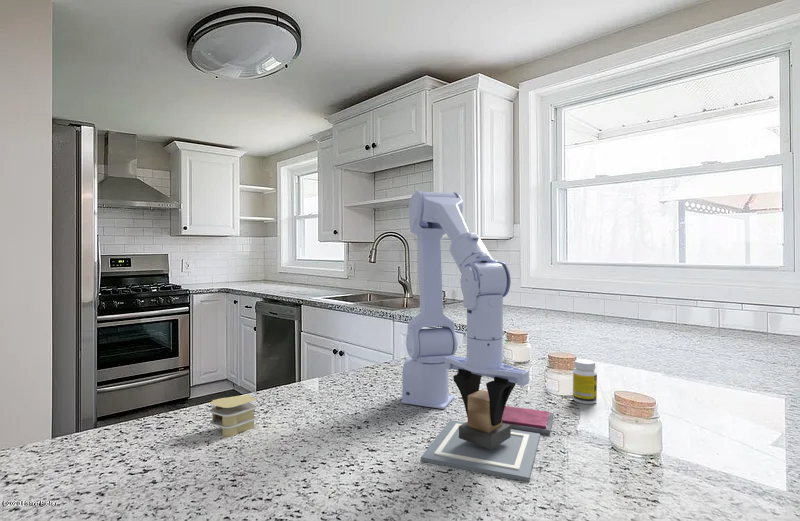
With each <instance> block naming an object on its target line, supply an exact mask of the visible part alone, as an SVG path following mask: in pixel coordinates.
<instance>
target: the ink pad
mask: <svg viewBox="0 0 800 521" xmlns="http://www.w3.org/2000/svg"><path fill="white" fill-rule="evenodd" d="M502 423H505V424H508V425H511V429H513V430H519V431H526V432H532V433H539V434H540V435H547V436H550V435H551V431H552V427H553V426H552V425H553V423H554V412H550V411H546V410H540V409H532V408H523V407H517V406H508V405H505V408H504V412H503V416H502Z"/></svg>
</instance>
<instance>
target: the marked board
mask: <svg viewBox="0 0 800 521" xmlns="http://www.w3.org/2000/svg"><path fill="white" fill-rule="evenodd" d="M466 422H467V421H466ZM466 422H465V421H458V420H452V419H449V421H448V422H447V423H446V425H445V426H444V427H443V428H442V430H441V431H440V432H439V433H438V434H437V436H436V437H435V438H434V440H432V442H431V443H430V445H429V446H428V448H427V449H426V450H425V451H424V453H423V454H422V455H421V457H420V461H421V462H423V463H424V462H425V463H430V464H435V465H439V466H443V467H444V466H445V467H450V468H451V467H452V468H454V469H455V468H456V469H461V470H465V471H471V472H476V473H482V474H487V475H491V476H492V475H493V476H495V477H502V478H505V479H506V478H507V479H512V480H518V481H523V482H527V483H529V482H530V479H531V475H532V473H533V467H534V463H535V459H536V455H537V452H538V447H539V443H540V441H541V440H540V439H541V434H539V433H532V432H526V431H519V430H513V429H511V437H510V438H509V439H507V440H506V441H504V442H502V443H501V444H499V445H498V446H496V447H494V448H493V449H488V448H485V447H483V446H480V445H477V444H474V443H471V442H468V441H465V440H463V439H460V438H459V426H460V425H462V424H464V423H466Z"/></svg>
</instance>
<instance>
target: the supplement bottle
mask: <svg viewBox="0 0 800 521" xmlns="http://www.w3.org/2000/svg"><path fill="white" fill-rule="evenodd" d="M574 367H575V368H574V369H573V370H572V400H573V401H574V402H577V403H580V404H586V405H592V404H596V403H597V400H598V398H597V397H598V394H597V391H598V386H597V385H598V374H597V371H596V361H594V360H592V359H591V360H590V359H584V358H583V359H575V361H574Z"/></svg>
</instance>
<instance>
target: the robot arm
mask: <svg viewBox="0 0 800 521" xmlns="http://www.w3.org/2000/svg"><path fill="white" fill-rule="evenodd" d="M463 209H464V201H463V199H462V197H461V195H460V194H459V192H456V191H454V192H436V191H435V192H434V191H433V192H431V191H420V190H415V191H414V192H413V194H412V195H411V197H410V201H409V204H408V214H409V215H408V216H409V217H408V218H409V219H408V220H409V221H408V222H409V231H410V232H411V233H412V234H414V235H415V236H416V239H417V241H416V242H417V261H418V266H417V267H418V291H419V293H418V294H419V313H418V314H417V315H415V317H413V318H412V319H411V320H409V322H408V323H407V332H406V340H405V343H406V351H407V354H408V356H409V357H407V358H406V359H405V360H404V363H403V367H402V375H401V377H402V381H401V382H402V383H401V384H402V385H401V386H402V388H401V390H402V395H401V397H402V398H401V401H400V403H402V404H406V405H413V406H421V407H425V408H426V407H427V408H435V409H439V410H440V409H443V410H444V409H446V408H447V407H448V405H449V404H450V403H451V402H452V401H453V400H454V398H455V395H454V394H449V390H450V389H449V386H450V384H449V376H450V375H449V372H450V371H449V370H456V371H457V373H456V374H454V375H453V376H452V377H453V382H454V384H455V385H456V387H457V389H458V390H459V393H460V396H461V398H462V402H463V405H464V409H465V413H466V417H467V419H468V395H470V394H472V393H475V392H477V391H479V390H480V387H481V386H480V385H481V380H482V376H483V377H487V378H490V379H493V380H490V381H488V382H486V384H485V387H486V389H487V390H486V391H488V395H489V400H490V418H491V425H492V426H496V425H498V424H500V423H501V420H502V416H503V412H504V408H505V406H507V405H506V404H507V402H508V400H509V398H510V395H511V393H512V392H513V389H514V388H515V386H516V385H517V386H520V387H524V386H526V385H528V384H529V383H530V375H529V374H530V371H529V370H525V369H522V368H519V367H515V366H513V365H509V364H506V363H504V362H503V356H504V355H503V354H504V352H503V349H504V348H503V346H504V343H503V340H504V339H503V338H504V337H503V336H504V333H503V332H504V330H503V329H504V324H503V323H504V321H503V320H504V319H503V318H504V298H505V297H506V296H507V295H508V294H509V292H510V290H511V282H512V281H511V279H512V278H511V273H510V269H509V268H508V266H507V263H506V262H504V261H500V260H498V259H497V258H493V257H492V255H491V254H490V252H489V251H488V249H487V247H486V245H485V244H484V242H483V241H482V239H481V237H480V235H478V234H477V233H475V232H470V230H469V228H468V225H467V224H466V221H465V218H464V216H463V212H464V210H463ZM444 235H447V237H448V238H449V241H450V246H449V252H450V254H451V256H452V258H453V260H454V262H455V264H456V265H457V269H458V270H459V272H460V273H461V275H460V279H459V280H460V282H459V283H460V289H461V292H462V296H463V306H464V308H465V309H466V357H463V356H456V352H457V350H458V346H459V342H458V341H459V340H458V336H457V333H456V327H455V322H454V320H452V319H451V318H450V317H449V316H447V315H446V314H445V313H444V304H443V303H444V301H443V297H444V296H443V274H442V272H443V271H442V253H441V252H442V251H441V250H442V249H441V248H442V246H441V239H442V238H443V237H444ZM432 327H433V328H432Z"/></svg>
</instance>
